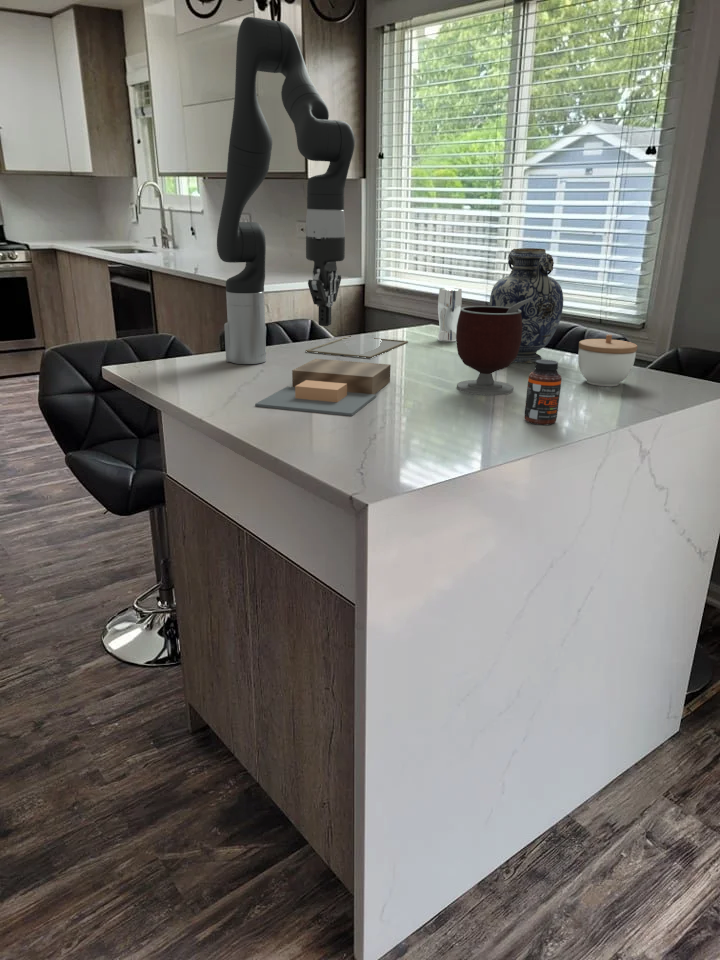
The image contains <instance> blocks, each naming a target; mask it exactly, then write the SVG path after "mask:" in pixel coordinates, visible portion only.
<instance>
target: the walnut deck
mask: <svg viewBox="0 0 720 960" xmlns="http://www.w3.org/2000/svg"><path fill="white" fill-rule="evenodd" d="M291 374H292V376H291V377H292V378H291V379H292V381H291V382H292V386H291V387H295V386H296V385H298V384H300V383H302V382H304V381H305V380H311V381H323V382H334V383H345V384H347V392H354V393H365V394H377V393H378V392H379V391H380V390H382V389H383V388H385V387H386V386H387V385H388V384H389V383H391V364H388V363H387V364H386V363H376V362H362V361H352V360H351V361H350V360H349V361H348V360H337V359H323V358H314V359H312V360H310V361H308V362H306V363H304V364H302V365H300V366H298V367H296V368H294V369H292V370H291Z"/></svg>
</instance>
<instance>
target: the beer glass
mask: <svg viewBox="0 0 720 960" xmlns="http://www.w3.org/2000/svg"><path fill="white" fill-rule="evenodd" d="M462 293H463V291H462V288H457V287H456V288H455V287H441V288H439V291H438V299H437V313H438V322H439V323H438V324H439V329H438V335H437V341H438V342H444V343H450V342H451V343H453V342H454V343H456V330H457V322H458V318H459V314H460V311H461V310H460V309H461V308H462V302H463V300H462V298H463V297H462V295H463V294H462Z"/></svg>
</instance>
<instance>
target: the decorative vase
mask: <svg viewBox="0 0 720 960" xmlns="http://www.w3.org/2000/svg"><path fill="white" fill-rule="evenodd" d="M546 251H547V250H546V249H545V248H534V247H533V248H532V247H524V248H523V247H522V248H513V249H511V250H510V252H509V253H508V257H507V264H508V267H509V269H510V270H511V271H510V273H509V274H508V275H507V276H504V277H502V278H500V279H499V280H497V281H496V283H495V284H494V285H493V287H492V289H491V292H490V297H489V306H498V307H509V308H511V307H512V306H513V305H515V304H517V303H519V302H521V301H524V300H526V299H530V298H533V302H528V303H526V304H524V305H523V306H521V307H520V308H519V310H521V316H522V339H521V344H520V348H519V352H518V355H517V357H516V359H515V360H514V361H513V362H512V363H517V364H518V363H519V364H520V363H521V364H532V363H533V364H534V363H535V364H536V361H537V360H543V359H542V356H541V355H540V354H539V353H537V352H538V351H540V350H541V349H543V348H545V347H546V346H547V345H548V344H549V343H550V342H551V339H552V338H553V336H554V335H555V332H556V331H557V329H558V326H559V324H560V321H561V318H562V313H563V308H564V294H563V293H564V291H563V289H562V286H561V284H560V283H559V282H558V281H557V280H556V279H555V278H553V277H551V276H549V275H550V274H551V273H552V271H553V270H554V263H555V262H554V258H553V255H552V254H550V253H547V252H546Z"/></svg>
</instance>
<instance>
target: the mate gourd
mask: <svg viewBox="0 0 720 960" xmlns="http://www.w3.org/2000/svg"><path fill="white" fill-rule="evenodd" d="M528 302H533V298H530V299H526V300H524V301H521V302H519V303H517V304H515V305H513V306H512V307H511V308H509V307H498V306H490V305H473V306H472V305H471V306H463V307H462V306H461V309H460V310H461V311H460V314H459V318H458V322H457V330H456V341H455V343H456V351H457V355H458V357H459V359H460V361H462V363H463V364H464V365H465V366H466V367H468V368H471V369H473V370H475V371H476V372H478V373H479V375H478V376H477V379H467V380H462V381H460V382H457V383H456V389H457V390H458V391H460V392H463V393H466V394H472V395H477V394H478V396H503V395H507V394H508V393H509V394H511V393H513V392H512V391H513V390H514V386H513V385H512V384H509V383H507V382H504V381H499V380H494V377H493V373H495V372H497V371H500V370H503V369H506V368H508V367H510V366H511V364H512V363H514V362H513V361H514V360H515V359H516V357H517V355H518V352H519V348H520V344H521V339H522V316H521V310H519V308H520V307H521V306H523V305H524V304H526V303H528Z"/></svg>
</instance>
